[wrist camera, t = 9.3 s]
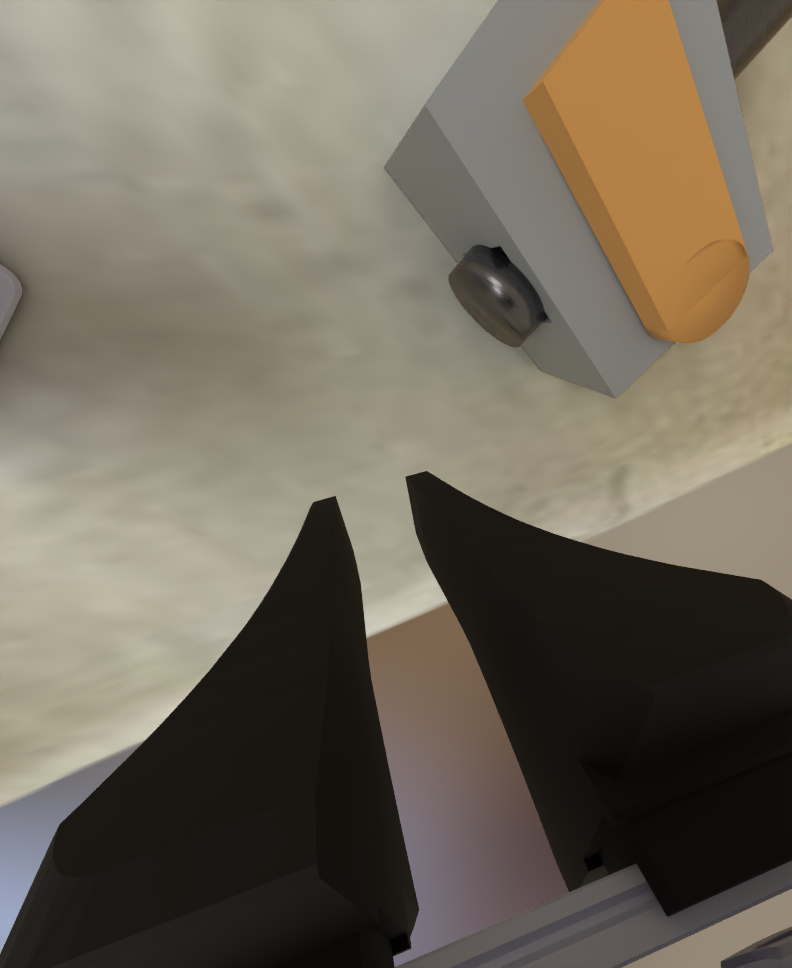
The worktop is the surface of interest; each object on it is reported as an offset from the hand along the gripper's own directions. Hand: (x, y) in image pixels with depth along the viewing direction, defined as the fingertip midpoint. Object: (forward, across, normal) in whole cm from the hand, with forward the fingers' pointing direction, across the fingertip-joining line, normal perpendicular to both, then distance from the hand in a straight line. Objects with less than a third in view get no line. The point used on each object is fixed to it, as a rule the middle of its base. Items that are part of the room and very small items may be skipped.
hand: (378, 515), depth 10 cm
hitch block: (+7, -9, -6) cm, 13 cm away
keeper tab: (+2, -9, -6) cm, 11 cm away
